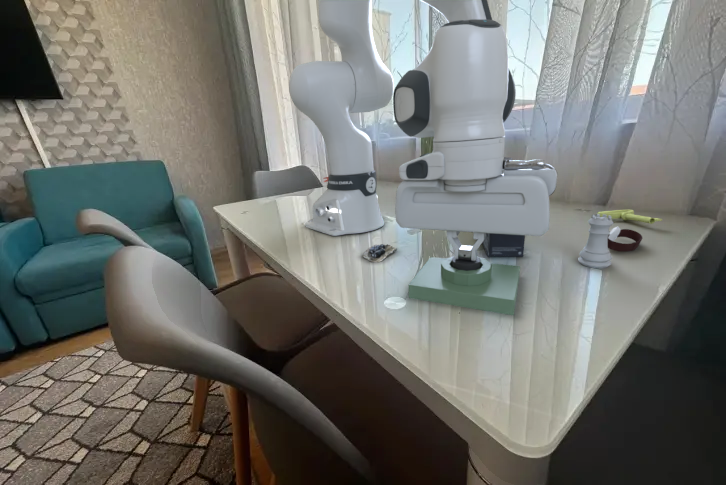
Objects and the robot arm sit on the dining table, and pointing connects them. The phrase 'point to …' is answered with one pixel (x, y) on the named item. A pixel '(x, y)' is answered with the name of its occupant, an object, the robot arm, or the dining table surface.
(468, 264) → the spray button
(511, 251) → the small box
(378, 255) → the blueberries
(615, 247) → the watch
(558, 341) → the dining table surface
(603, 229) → the rook chess piece
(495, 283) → the button box
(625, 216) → the yellow-green branched tube
